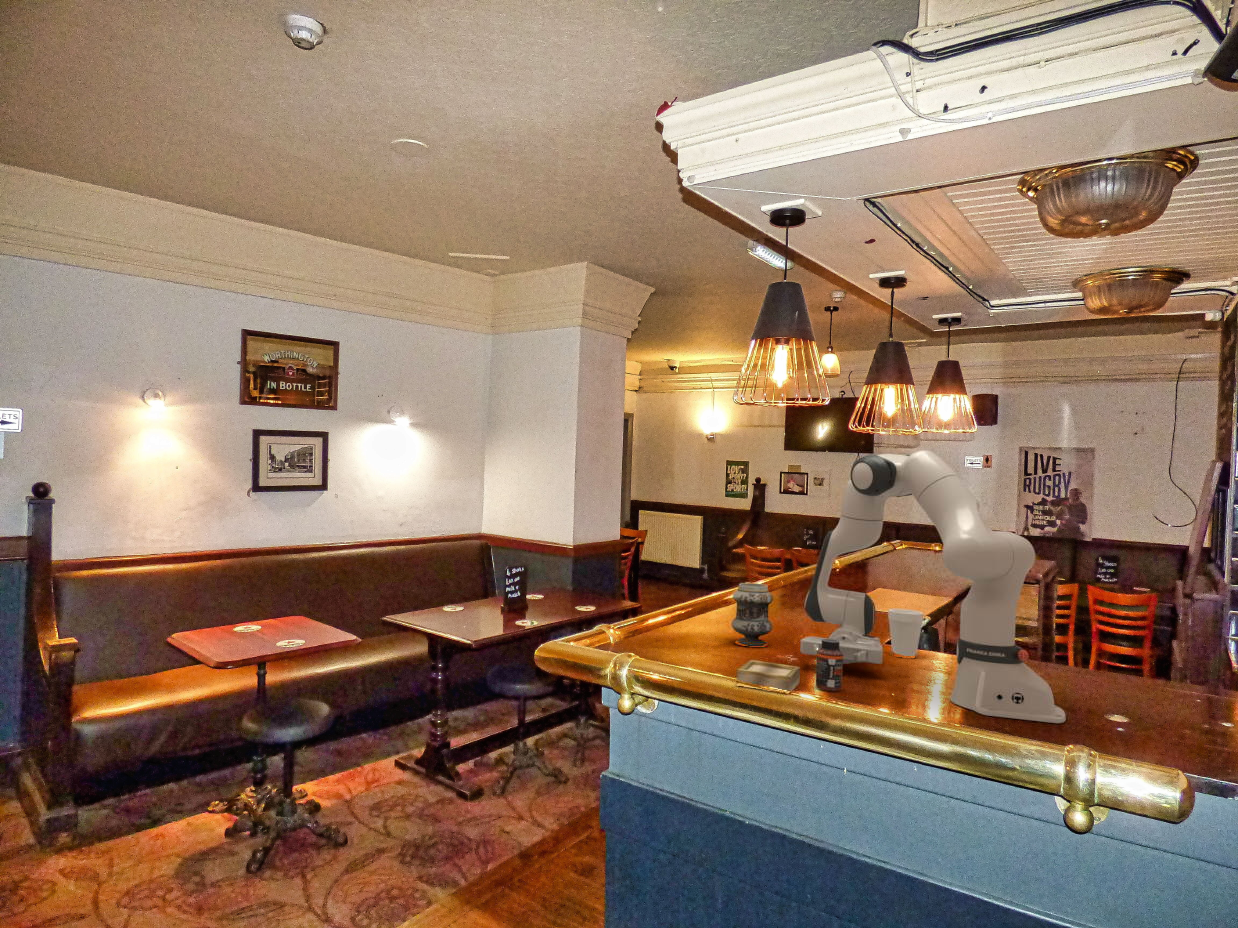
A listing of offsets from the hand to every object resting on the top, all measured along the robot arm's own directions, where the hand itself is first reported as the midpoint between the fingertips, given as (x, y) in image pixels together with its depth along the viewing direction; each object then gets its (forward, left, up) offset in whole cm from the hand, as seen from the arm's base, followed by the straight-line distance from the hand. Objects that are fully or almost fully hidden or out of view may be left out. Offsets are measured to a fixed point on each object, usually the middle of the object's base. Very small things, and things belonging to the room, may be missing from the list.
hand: (836, 654), depth 181 cm
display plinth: (+13, +15, -6) cm, 21 cm away
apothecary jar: (+29, -28, -6) cm, 41 cm away
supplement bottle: (0, +10, -6) cm, 12 cm away
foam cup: (-13, -42, -6) cm, 44 cm away
